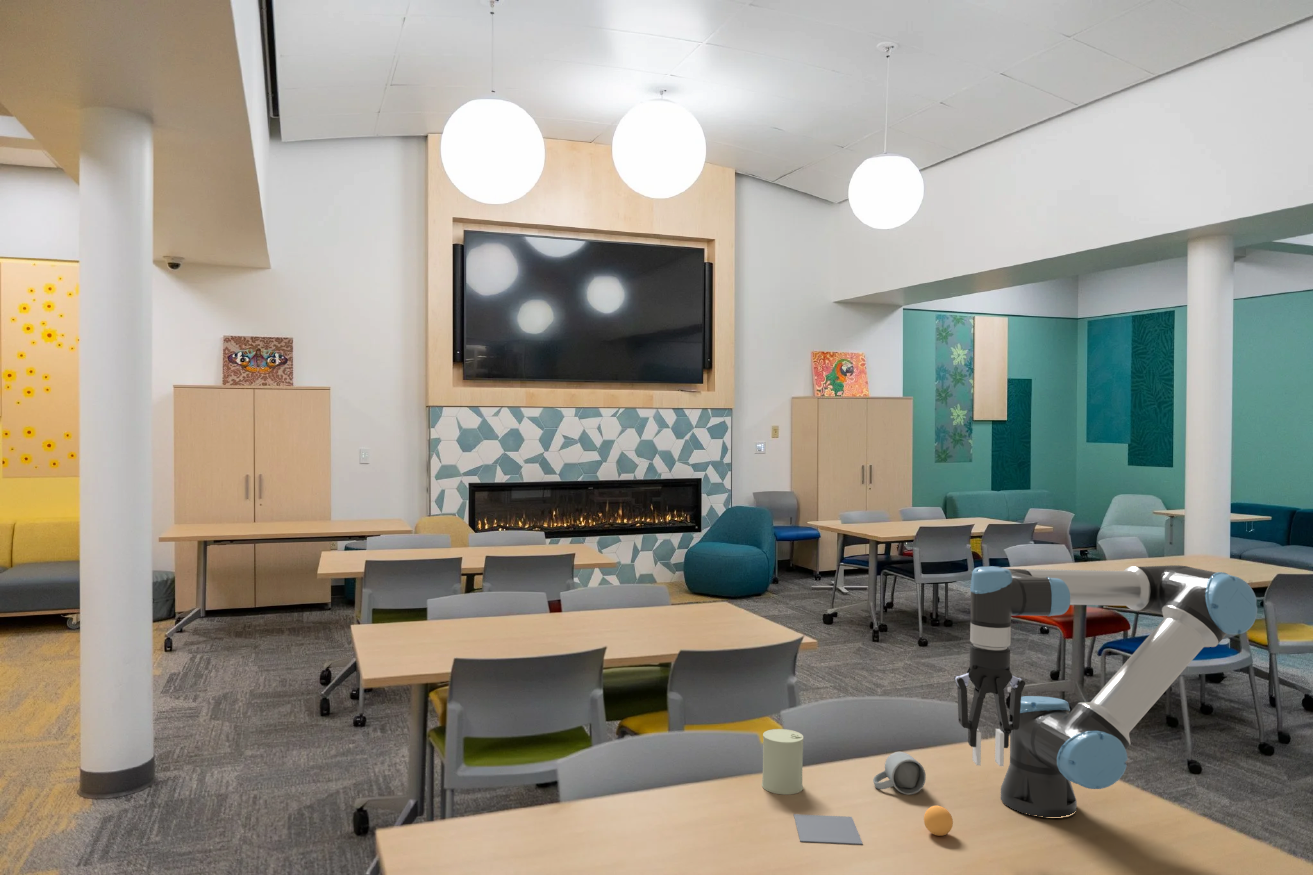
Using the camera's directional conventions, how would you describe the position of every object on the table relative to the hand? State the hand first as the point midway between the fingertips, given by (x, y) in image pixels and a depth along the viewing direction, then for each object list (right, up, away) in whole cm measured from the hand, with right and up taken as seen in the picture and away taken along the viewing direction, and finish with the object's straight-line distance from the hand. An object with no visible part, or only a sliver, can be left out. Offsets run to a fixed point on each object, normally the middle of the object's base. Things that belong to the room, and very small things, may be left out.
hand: (987, 762), depth 170 cm
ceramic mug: (-11, -15, +23) cm, 30 cm away
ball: (-10, -12, 0) cm, 15 cm away
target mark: (-32, -14, +2) cm, 35 cm away
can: (-38, -14, +23) cm, 46 cm away
